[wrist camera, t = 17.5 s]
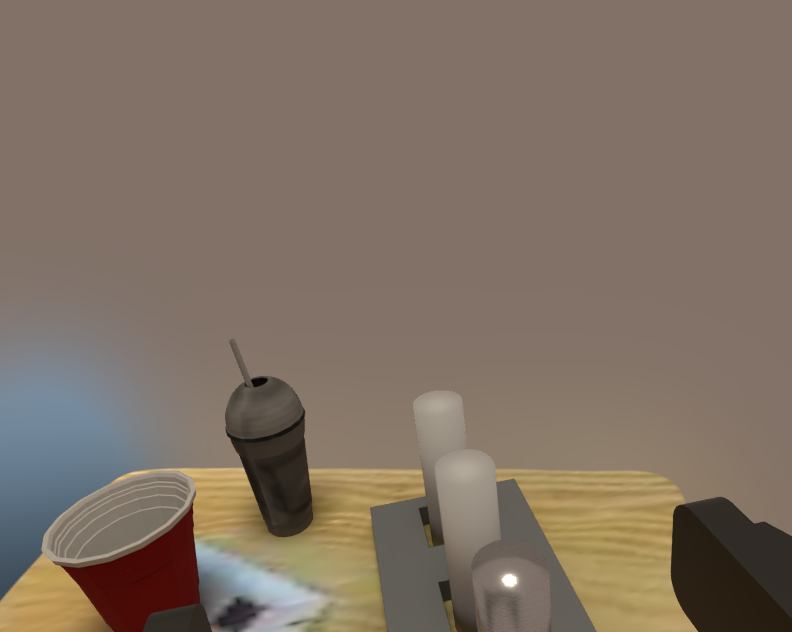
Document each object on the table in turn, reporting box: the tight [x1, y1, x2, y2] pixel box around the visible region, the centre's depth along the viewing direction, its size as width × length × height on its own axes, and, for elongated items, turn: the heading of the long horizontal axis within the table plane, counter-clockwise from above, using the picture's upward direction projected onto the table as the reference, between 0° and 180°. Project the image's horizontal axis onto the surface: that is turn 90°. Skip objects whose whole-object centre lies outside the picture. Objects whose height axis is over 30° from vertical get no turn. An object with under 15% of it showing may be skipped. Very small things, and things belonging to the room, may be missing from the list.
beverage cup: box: [225, 339, 313, 537], centre depth 54 cm, size 7×7×20 cm
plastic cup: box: [42, 471, 200, 632], centre depth 46 cm, size 11×11×12 cm
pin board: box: [370, 390, 596, 632], centre depth 42 cm, size 14×26×14 cm, turn 8°
